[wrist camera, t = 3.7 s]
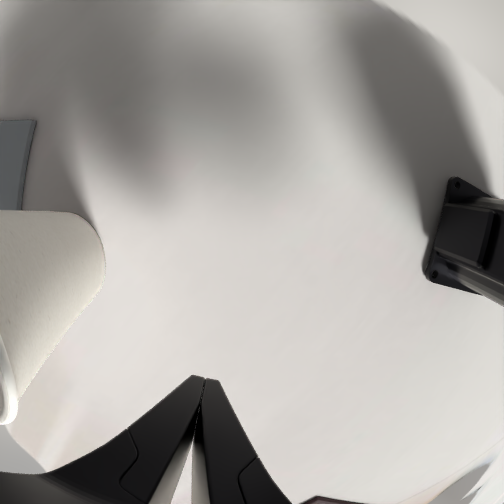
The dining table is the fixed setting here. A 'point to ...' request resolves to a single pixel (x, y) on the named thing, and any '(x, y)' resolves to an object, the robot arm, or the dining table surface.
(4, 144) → the mat
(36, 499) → the robot arm
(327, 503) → the chocolate bar
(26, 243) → the dixie cup
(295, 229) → the dining table surface
